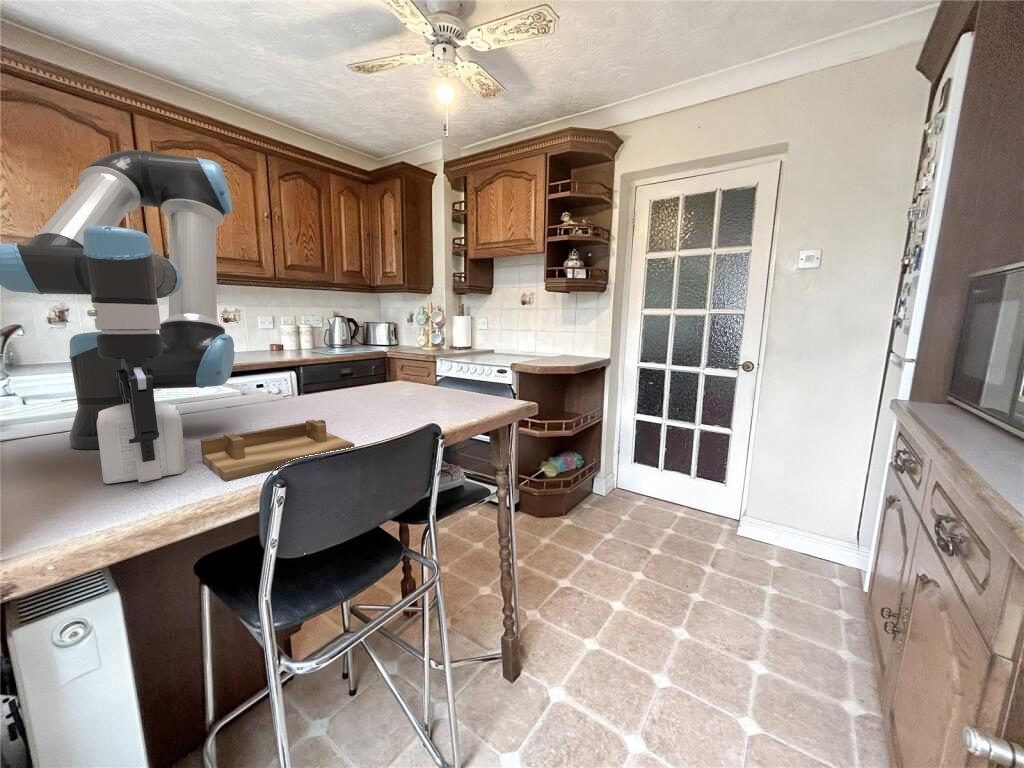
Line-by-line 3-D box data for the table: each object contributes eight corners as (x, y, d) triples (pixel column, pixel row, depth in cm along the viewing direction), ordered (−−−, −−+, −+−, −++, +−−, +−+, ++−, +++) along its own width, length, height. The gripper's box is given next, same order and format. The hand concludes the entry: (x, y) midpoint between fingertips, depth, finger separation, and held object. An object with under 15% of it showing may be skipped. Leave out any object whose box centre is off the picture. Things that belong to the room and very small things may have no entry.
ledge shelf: (202, 461, 75) (199, 434, 75) (323, 437, 92) (322, 415, 91) (225, 481, 66) (222, 451, 66) (354, 450, 83) (353, 426, 82)
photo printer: (187, 467, 72) (180, 397, 71) (185, 474, 69) (177, 401, 67) (107, 478, 67) (97, 403, 65) (100, 487, 63) (89, 408, 61)
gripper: (90, 331, 68) (109, 467, 71) (101, 334, 56) (123, 498, 59) (150, 330, 73) (165, 457, 77) (172, 333, 61) (188, 483, 65)
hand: (146, 474), depth 68 cm, fingers closed on photo printer, 5 cm apart
